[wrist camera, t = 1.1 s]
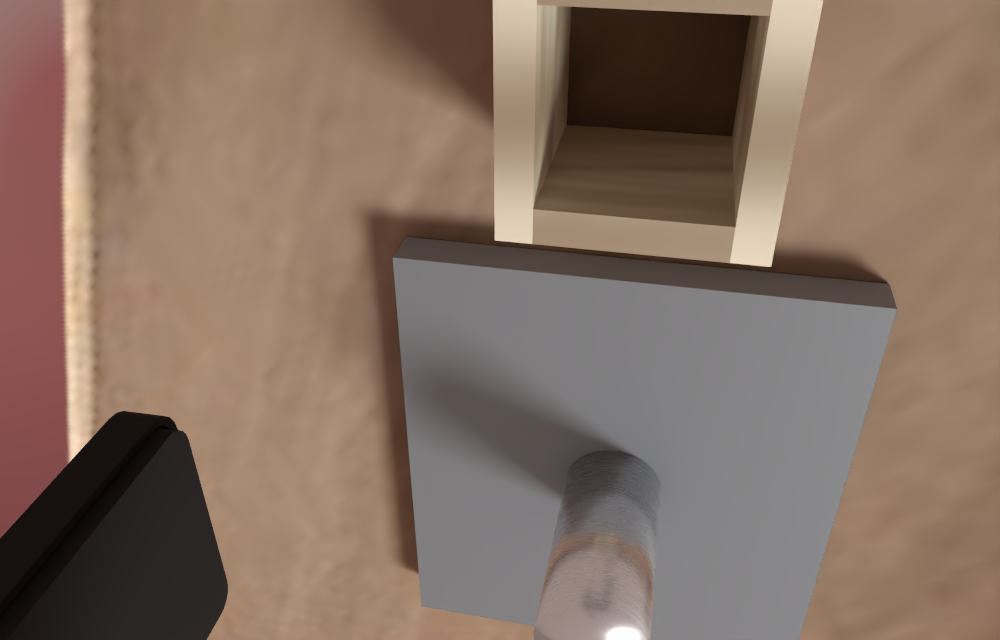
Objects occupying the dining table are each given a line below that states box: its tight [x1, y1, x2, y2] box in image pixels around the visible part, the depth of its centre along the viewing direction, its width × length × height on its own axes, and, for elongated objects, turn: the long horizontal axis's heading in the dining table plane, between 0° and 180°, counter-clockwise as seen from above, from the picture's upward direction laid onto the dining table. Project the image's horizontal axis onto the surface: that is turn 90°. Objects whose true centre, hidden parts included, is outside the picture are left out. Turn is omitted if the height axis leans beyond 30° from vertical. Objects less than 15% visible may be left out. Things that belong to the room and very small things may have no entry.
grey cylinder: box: [534, 450, 661, 640], centre depth 30 cm, size 4×4×7 cm
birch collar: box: [493, 0, 823, 267], centre depth 23 cm, size 7×7×6 cm
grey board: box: [393, 237, 897, 640], centre depth 33 cm, size 18×16×2 cm
